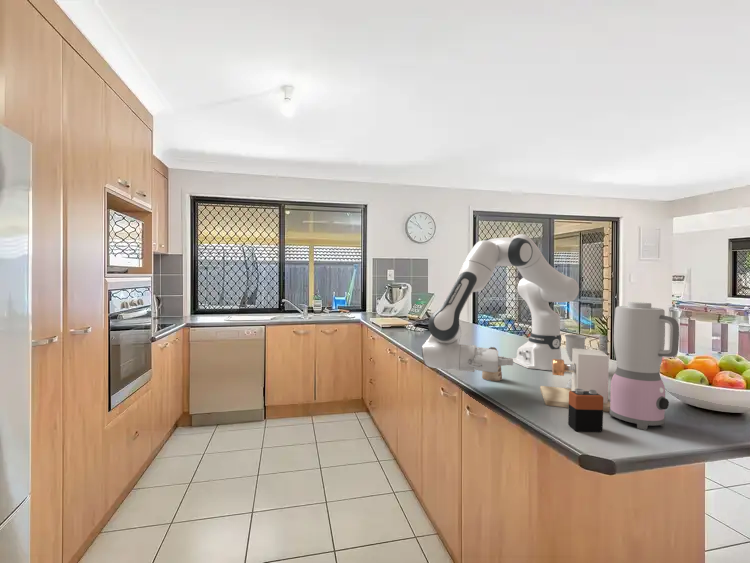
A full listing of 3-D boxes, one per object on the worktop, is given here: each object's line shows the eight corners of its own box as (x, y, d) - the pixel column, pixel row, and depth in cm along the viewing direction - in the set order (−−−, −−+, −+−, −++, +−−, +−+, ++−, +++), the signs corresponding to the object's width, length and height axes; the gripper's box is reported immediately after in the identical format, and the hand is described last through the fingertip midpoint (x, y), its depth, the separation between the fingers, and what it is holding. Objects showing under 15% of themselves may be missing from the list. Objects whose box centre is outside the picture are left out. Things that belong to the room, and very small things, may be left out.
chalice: (588, 391, 130) (589, 338, 130) (566, 389, 132) (567, 337, 131) (581, 385, 138) (582, 335, 137) (560, 383, 139) (562, 334, 139)
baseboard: (545, 405, 115) (545, 400, 115) (540, 390, 131) (540, 385, 131) (614, 412, 110) (614, 407, 110) (600, 396, 125) (600, 391, 125)
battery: (567, 425, 100) (568, 387, 100) (593, 425, 100) (594, 387, 100) (575, 432, 96) (576, 392, 96) (603, 432, 96) (604, 392, 95)
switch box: (577, 400, 115) (578, 354, 115) (571, 391, 125) (572, 348, 125) (607, 403, 113) (608, 356, 113) (599, 393, 123) (600, 350, 122)
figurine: (501, 377, 147) (501, 345, 147) (502, 382, 140) (503, 349, 140) (481, 375, 149) (482, 344, 148) (482, 380, 142) (482, 348, 142)
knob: (553, 376, 120) (554, 360, 120) (551, 372, 124) (552, 357, 124) (587, 379, 117) (587, 363, 117) (583, 375, 122) (584, 359, 121)
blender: (598, 416, 107) (601, 301, 106) (627, 410, 112) (630, 300, 111) (660, 438, 92) (663, 306, 92) (689, 431, 97) (693, 305, 97)
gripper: (467, 354, 120) (514, 358, 116) (471, 344, 139) (512, 347, 135) (467, 374, 120) (514, 379, 116) (471, 361, 139) (511, 364, 135)
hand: (513, 361), depth 126 cm, fingers closed
